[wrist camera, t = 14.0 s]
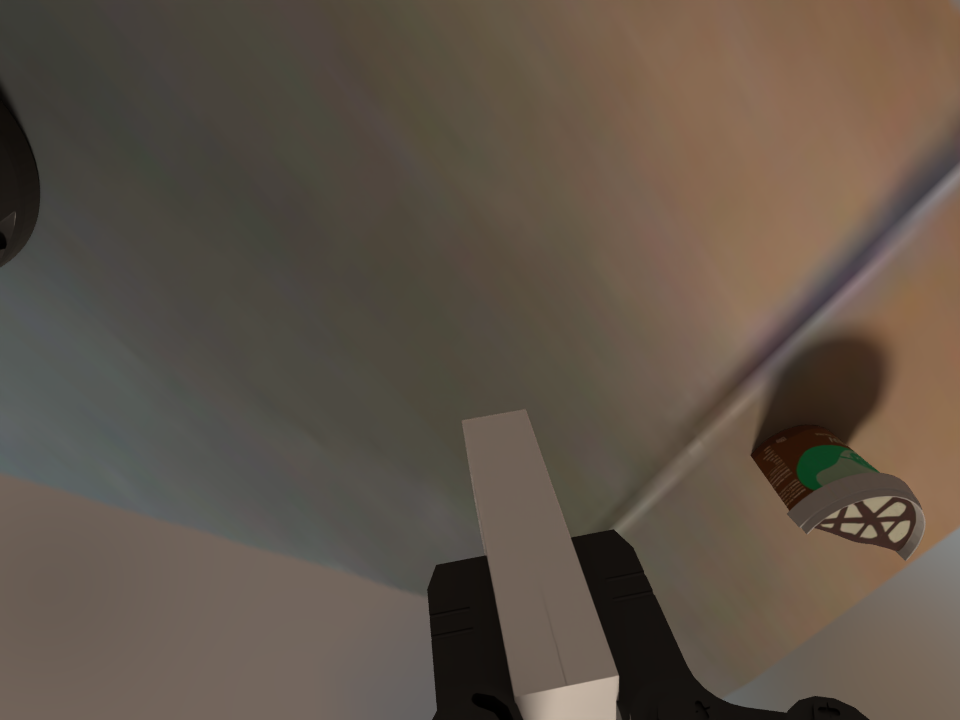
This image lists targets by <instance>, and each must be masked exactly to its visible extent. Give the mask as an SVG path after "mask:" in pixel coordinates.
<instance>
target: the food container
mask: <svg viewBox="0 0 960 720" xmlns="http://www.w3.org/2000/svg"><path fill="white" fill-rule="evenodd" d="M751 457H752V458H753V460H754V461H755V462H756V464H757V465H758V467H759V468H760V470H761V471H762V472H763V474H764V475H765V477H766V478H767V479H768V481H769V482H770V484H771V485H772V487H773V488H774V489H775V491H776V492H777V494H778V495H779V497H780V498H781V499H782V501H783V502H784V504H785V505H786V506H787V508H788V509H789V512H788V513H787V515H788V516H789V517H790V518H791V519H792V520H793V521H794V522H795V523H796V524H797V525H798V526H799V527H800V528H802V529H803V530H804V532H805V533H806V534H808V533H809V532H810V531H811V530H812V529H813V528H816V529H820V530H823V531H827V532H830V533H833V534H835V535H838V536H841V537H843V538H846V539H848V540H851V541H854V542H858V543H865V544H873V545H877V546H881V547H884V548H888V549H891V550H895V551H896V552H897V553H898V554H899V555H900V556H901V557H902V558H903V559H904V560H905V561H906V560H907V559H908V558H909V557H910V556H911V555H912V554H913V552H914V551H915V550H916V548H917V547H918V545H919V543H920V541H921V540H922V537H923V534H924V531H925V516H924V514H923V511H922V508H921V505H920V503H919V501H918V500H917V498H916V497H915V495H914V494H913V492H912V491H911V489H910V488H909V487H908V485H907V484H906V483H905V482H904V481H902V480H901V479H899V478H897V477H895V476H893V475H889V474H885V473H880V472H879V471H877V470H876V469H875V468H874V467H872V466H871V465H870V464H869V463H868V462H866V461H865V460H864V459H863V458H861V457H860V456H859V455H858V454H857V453H855V452H854V451H853V450H852V449H850V448H849V447H848V446H847V445H846V444H844V443H843V442H842V441H841V440H839V439H838V438H837V437H836V436H835V435H833V434H832V433H831V432H830V431H828V430H827V429H825V428H823V427H820V426H816V425H801V426H796V427H792V428H789V429H786V430H784V431H781V432H779V433H777V434H775V435H774V436H772V437H770V438H769V439H768V440H766V441H765V442H763V443H762V444H761V445H760V446H759V447H758V448H757V449H756V450H755V451H754V452H753V453H752V454H751Z"/></svg>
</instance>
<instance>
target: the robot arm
mask: <svg viewBox="0 0 960 720" xmlns="http://www.w3.org/2000/svg"><path fill="white" fill-rule="evenodd" d="M39 204H40V188H39V180H38V174H37V169H36V166H35V162H34V159H33V156H32V153H31V151H30V148H29V146H28V144H27V141H26V139H25V137H24V135H23V133H22V131H21V130H20V128H19V126H18V125H17V123H16V121H15V120H14V118H13V117H12V115H11V114H10V112H9V111H8V109H7V108H6V107H5V105H4V104H3V103H2V102H1V100H0V267H2V266H3V265H5V264H6V263H7V262H9V261H10V260H11V259H12V258H14V257H15V256H16V255H17V254H18V253H19V252H20V251H21V249H22V248H23V247H24V246H25V244H26V243H27V241H28V240H29V238H30V236H31V234H32V232H33V230H34V227H35V224H36V221H37V217H38V212H39ZM462 425H463V431H464V437H465V443H466V450H467V456H468V462H469V468H470V474H471V480H472V486H473V492H474V498H475V504H476V510H477V515H478V520H479V526H480V531H481V536H482V542H483V547H484V552H485V556H481V557H475V558H470V559H465V560H460V561H455V562H449V563H444V564H439V565H436V567H435V570H434V572H433V575H432V578H431V581H430V583H429V586H428V589H427V591H428V603H429V615H430V628H431V637H432V653H433V665H434V678H435V690H436V703H437V712H436V714H435V716H434V717H433V719H432V720H869V719H868V718H867V717H866V716H864V715H863V714H862V713H860V712H859V711H858V710H857V709H856V708H854V707H852V706H850V705H848V704H845V703H843V702H841V701H839V700H836V699H834V698H826V697H818V696H814V697H810V698H806V699H802V700H799V701H798V702H797V703H795V704H794V705H793V706H792V707H791V708H790V709H789V710H788V712H787V713H784V712H777V711H769V710H762V709H754V708H747V707H742V706H738V705H734V704H730V703H728V702H726V701H724V700H722V699H720V698H718V697H716V696H714V695H713V694H712V693H710V692H709V691H708V690H706V689H705V688H704V687H703V686H702V685H701V684H700V683H699V682H698V681H697V680H696V679H695V678H694V676H693V675H692V673H691V671H690V670H689V668H688V666H687V664H686V662H685V660H684V658H683V656H682V653H681V651H680V649H679V647H678V645H677V642H676V640H675V638H674V636H673V634H672V632H671V629H670V627H669V625H668V623H667V621H666V618H665V616H664V614H663V612H662V610H661V607H660V605H659V603H658V601H657V599H656V597H655V595H654V594H653V590H652V588H651V586H650V583H649V581H648V579H647V577H646V575H645V574H644V570H643V568H642V566H641V564H640V562H639V559H638V557H637V555H636V553H635V551H634V548H633V547H632V546H631V545H630V544H629V543H628V542H627V541H626V540H624V539H623V538H622V537H621V536H620V535H619V534H618V533H617V532H616V531H615V530H614V529H613V530H608V531H603V532H598V533H592V534H587V535H582V536H577V537H572V538H571V537H570V535H569V532H568V529H567V526H566V523H565V520H564V517H563V515H562V512H561V509H560V506H559V503H558V500H557V497H556V495H555V492H554V489H553V486H552V483H551V480H550V478H549V475H548V472H547V469H546V466H545V463H544V460H543V458H542V455H541V452H540V449H539V446H538V443H537V440H536V438H535V435H534V432H533V429H532V426H531V423H530V420H529V418H528V415H527V412H526V409H524V410H518V411H512V412H507V413H501V414H496V415H490V416H485V417H479V418H473V419H468V420H462Z"/></svg>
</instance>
